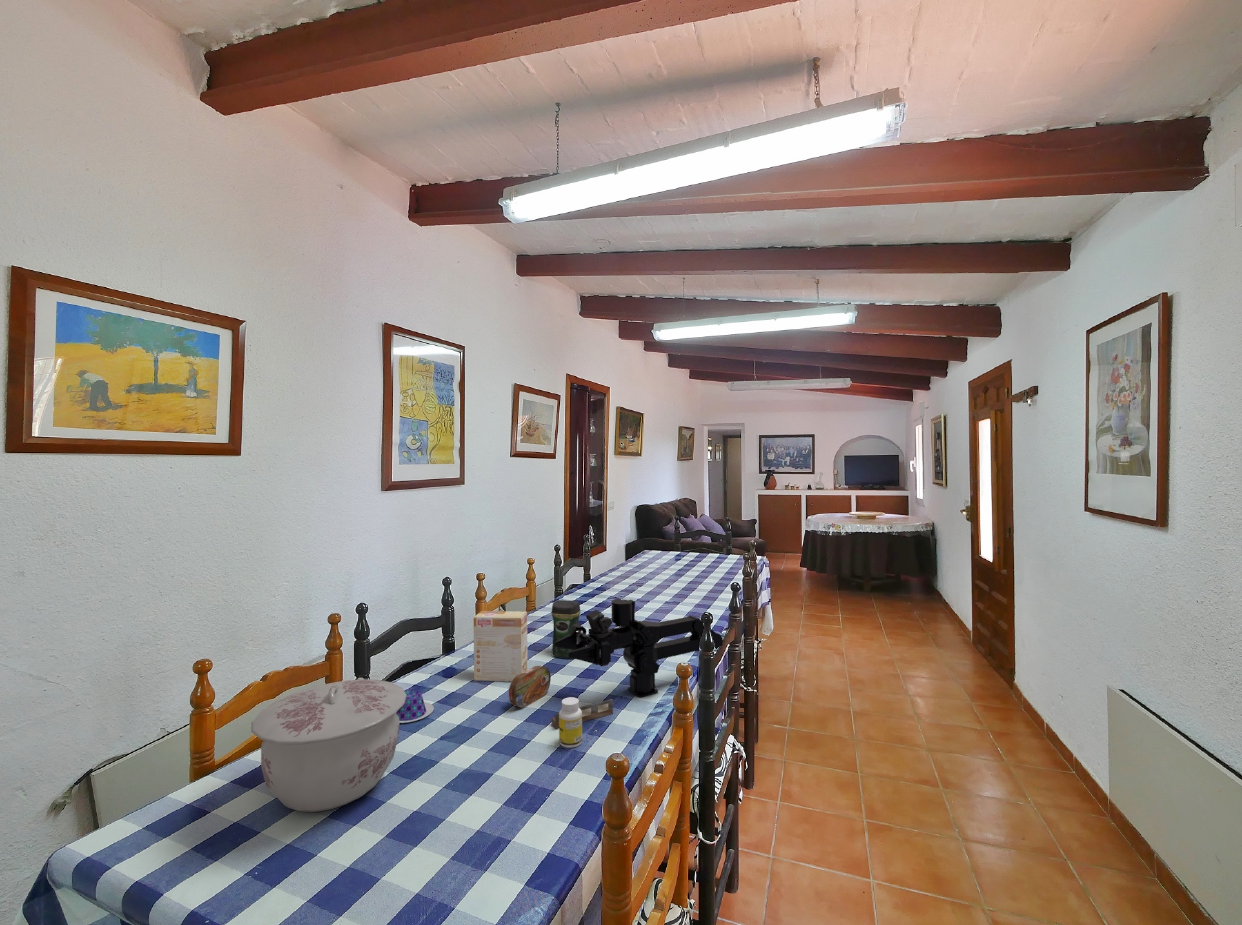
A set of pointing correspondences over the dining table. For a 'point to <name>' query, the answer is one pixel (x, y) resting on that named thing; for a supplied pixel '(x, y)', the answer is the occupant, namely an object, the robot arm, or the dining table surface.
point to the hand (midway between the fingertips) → (561, 649)
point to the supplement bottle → (570, 723)
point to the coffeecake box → (500, 645)
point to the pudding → (414, 707)
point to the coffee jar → (563, 623)
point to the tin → (529, 686)
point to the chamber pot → (329, 742)
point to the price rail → (590, 711)
